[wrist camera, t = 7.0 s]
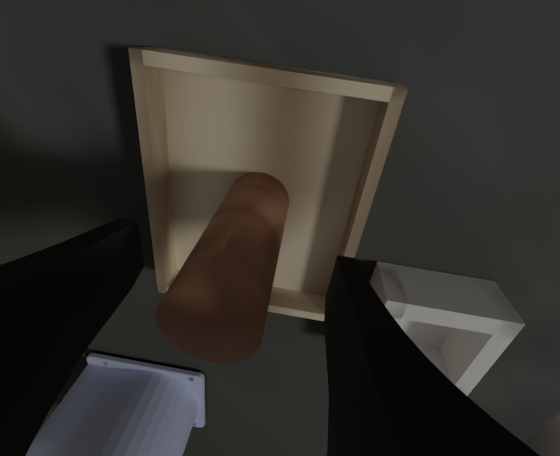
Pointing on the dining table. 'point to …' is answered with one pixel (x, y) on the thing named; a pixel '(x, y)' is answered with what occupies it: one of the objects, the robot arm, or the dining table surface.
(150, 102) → the tray
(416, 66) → the dining table surface
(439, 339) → the gray square open box
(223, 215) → the pin
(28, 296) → the robot arm
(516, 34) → the dining table surface
